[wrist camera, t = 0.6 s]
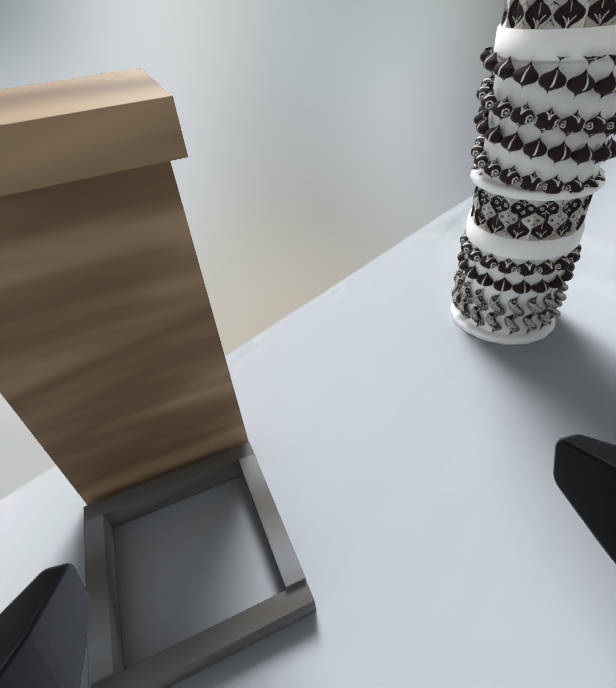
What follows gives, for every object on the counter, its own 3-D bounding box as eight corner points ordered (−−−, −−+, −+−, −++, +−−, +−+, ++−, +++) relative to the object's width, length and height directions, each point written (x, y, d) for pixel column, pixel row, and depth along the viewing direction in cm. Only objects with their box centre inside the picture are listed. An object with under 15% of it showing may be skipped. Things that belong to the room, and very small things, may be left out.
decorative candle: (543, 363, 33) (714, -119, 17) (428, 325, 37) (474, -79, 21) (573, 302, 38) (723, -107, 22) (468, 276, 43) (529, -78, 27)
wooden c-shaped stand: (316, 610, 21) (222, 138, 7) (103, 720, 19) (-639, 313, 5) (244, 434, 30) (140, 68, 16) (93, 493, 27) (-184, 117, 14)
